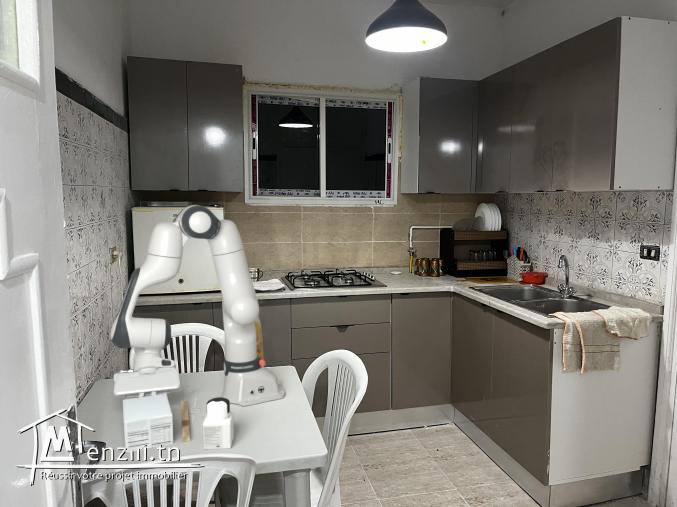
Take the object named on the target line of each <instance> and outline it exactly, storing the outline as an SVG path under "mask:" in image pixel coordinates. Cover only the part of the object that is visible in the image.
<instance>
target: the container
mask: <svg viewBox="0 0 677 507" xmlns="http://www.w3.org/2000/svg"><path fill="white" fill-rule="evenodd" d="M230 405H231V404H230V401H229V400H228V399H227V398H223V397H222V396H221V397H220V396H218V397H213V398H211V399H209V400H208V401H206V415H205V418H204V420H203V423H202V444H203V445H202V447H203V450H204V449H208V450H226V449H227V450H229V449H232V445H233V442H234V437H235V422H234V419H235V418H234V417H235V416H234V411H231V406H230Z"/></svg>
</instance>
